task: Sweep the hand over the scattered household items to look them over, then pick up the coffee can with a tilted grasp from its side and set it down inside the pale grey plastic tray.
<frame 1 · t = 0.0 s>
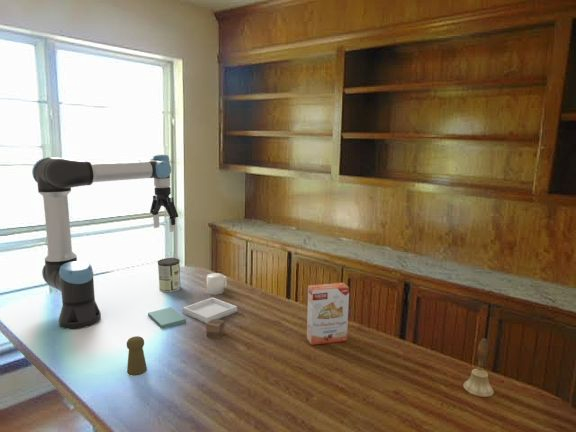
hand: (164, 229, 213), 28 cm above the table, tool pointing down, fingers open, 13 cm apart
cork: (137, 371, 136), on the table
walnut block: (215, 334, 162), on the table
hand bell: (478, 389, 128), on the table
coffee can: (169, 288, 211), on the table
cracker box: (327, 340, 158), on the table
tray: (210, 312, 182), on the table
teal notebook: (166, 320, 175), on the table
mug: (215, 291, 207), on the table
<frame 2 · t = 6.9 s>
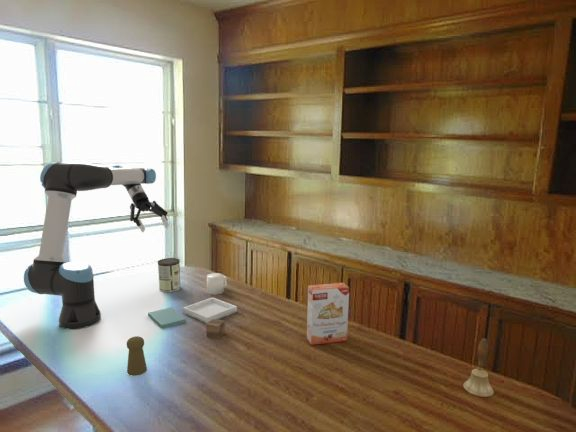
hand: (156, 228, 216), 28 cm above the table, tool tilted 45°, fingers open, 13 cm apart
nothing on the table moved.
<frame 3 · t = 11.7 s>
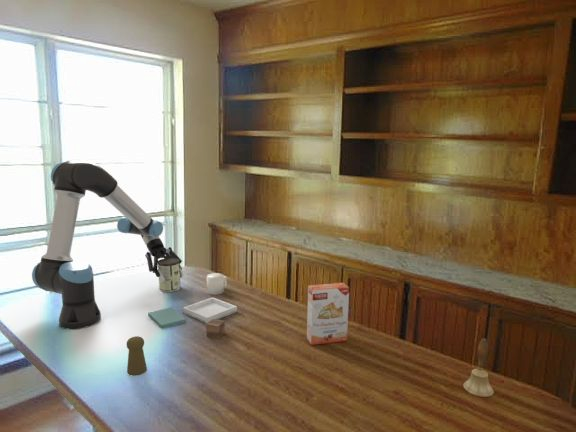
hand: (173, 279, 208), 6 cm above the table, tool tilted 45°, fingers closed on coffee can, 10 cm apart
coffee can: (169, 288, 211), on the table, touching gripper
everything else where it was.
when the fingers open (8 cm above the table, at t = 18.4 s): coffee can drops 1 cm, resting on tray.
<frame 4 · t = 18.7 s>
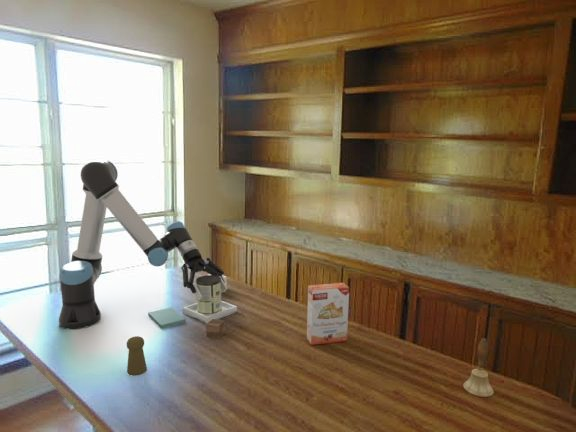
hand: (213, 294, 179), 9 cm above the table, tool tilted 45°, fingers open, 13 cm apart
coffee can: (209, 311, 182), point 1 cm above the table, touching tray
everything else where it was.
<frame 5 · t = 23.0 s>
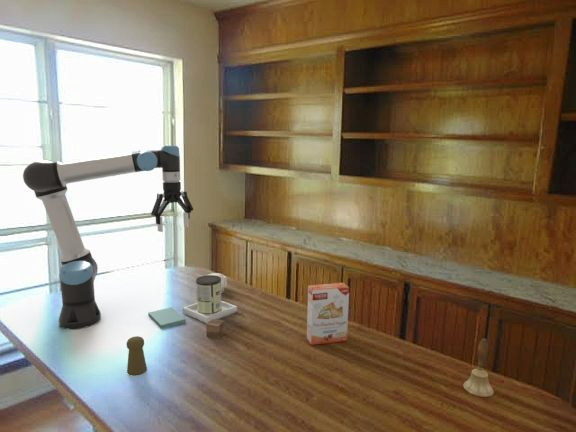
hand: (173, 229, 192), 33 cm above the table, tool pointing down, fingers open, 13 cm apart
nothing on the table moved.
at the end: coffee can inside the target area on the tray (0.3 cm from its centre), point 0.6 cm above the tray's base; coffee can tilted 0°; the gripper is holding nothing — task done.
